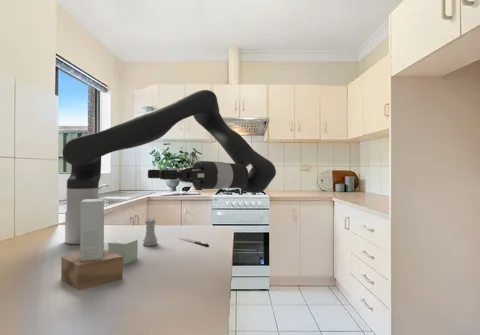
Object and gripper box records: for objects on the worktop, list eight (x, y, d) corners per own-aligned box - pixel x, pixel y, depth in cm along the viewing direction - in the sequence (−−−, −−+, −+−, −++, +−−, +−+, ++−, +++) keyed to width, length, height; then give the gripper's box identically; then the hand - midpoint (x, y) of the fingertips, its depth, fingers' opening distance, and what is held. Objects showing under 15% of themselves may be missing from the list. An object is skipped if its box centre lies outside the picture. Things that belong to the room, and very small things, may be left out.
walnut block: (61, 280, 67) (61, 257, 67) (103, 271, 73) (103, 249, 73) (78, 291, 61) (78, 265, 61) (122, 279, 67) (122, 256, 67)
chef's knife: (181, 238, 111) (174, 238, 109) (181, 234, 112) (174, 235, 110) (214, 247, 97) (206, 248, 95) (215, 243, 97) (207, 244, 95)
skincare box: (82, 254, 69) (83, 199, 69) (104, 252, 71) (104, 198, 71) (79, 261, 63) (79, 201, 64) (102, 259, 65) (103, 200, 65)
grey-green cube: (108, 262, 79) (108, 242, 79) (120, 257, 84) (120, 238, 84) (125, 264, 78) (125, 243, 78) (137, 259, 83) (137, 239, 83)
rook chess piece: (153, 246, 96) (153, 220, 96) (139, 246, 96) (140, 219, 97) (160, 243, 100) (160, 218, 100) (147, 242, 101) (147, 217, 101)
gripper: (200, 161, 92) (144, 159, 83) (226, 161, 80) (165, 158, 71) (199, 187, 92) (144, 188, 83) (225, 190, 80) (164, 191, 71)
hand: (153, 174), depth 77 cm, fingers open, 8 cm apart
